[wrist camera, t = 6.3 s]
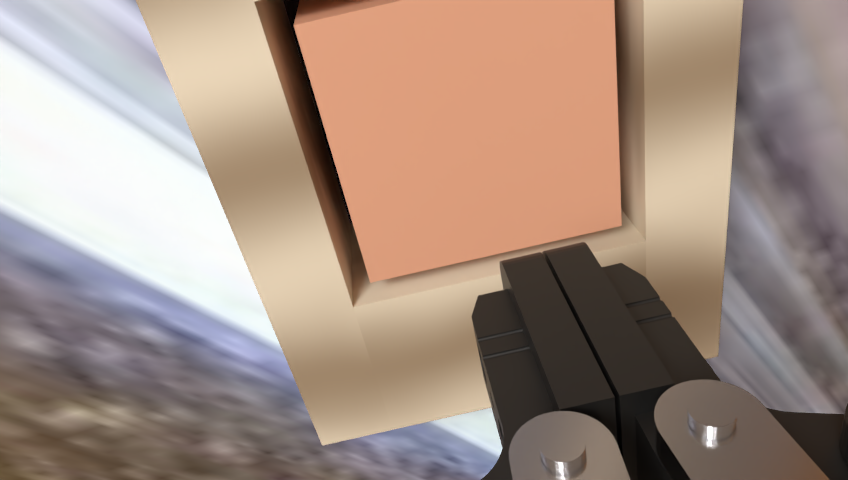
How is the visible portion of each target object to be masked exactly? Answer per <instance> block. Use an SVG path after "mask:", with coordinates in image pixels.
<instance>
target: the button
mask: <svg viewBox="0 0 848 480" xmlns="http://www.w3.org/2000/svg"><path fill="white" fill-rule="evenodd" d="M294 28H295V32H296V35H297V38H298V42H299V45H300V48H301V52H302V55H303V58H304V62H305V65H306V69H307V72H308V75H309V79H310V82H311V85H312V89H313V92H314V95H315V99H316V102H317V105H318V109H319V112H320V116H321V119H322V122H323V126H324V129H325V132H326V136H327V139H328V142H329V146H330V149H331V152H332V156H333V159H334V163H335V166H336V169H337V173H338V176H339V179H340V183H341V186H342V189H343V193H344V196H345V199H346V203H347V206H348V210H349V213H350V216H351V220H352V223H353V226H354V230H355V233H356V236H357V240H358V243H359V246H360V250H361V253H362V257H363V260H364V263H365V267H366V270H367V273H368V277H369V280H370V283H372V282H376V281H381V280H385V279H390V278H394V277H398V276H403V275H407V274H412V273H416V272H420V271H425V270H429V269H434V268H438V267H443V266H447V265H451V264H456V263H460V262H465V261H469V260H473V259H478V258H482V257H487V256H491V255H495V254H500V253H504V252H509V251H513V250H517V249H522V248H526V247H531V246H535V245H539V244H544V243H548V242H553V241H557V240H562V239H566V238H570V237H575V236H579V235H584V234H588V233H592V232H597V231H601V230H606V229H610V228H614V227H619V226H622V218H621V188H620V158H619V128H618V98H617V68H616V38H615V8H614V0H300V1H299V5H298V9H297V13H296V17H295V22H294Z"/></svg>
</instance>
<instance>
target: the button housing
mask: <svg viewBox="0 0 848 480" xmlns="http://www.w3.org/2000/svg"><path fill="white" fill-rule="evenodd" d="M136 2H137V4H138V7H139V9H140V12H141V14H142V16H143V19H144V21H145V23H146V26H147V28H148V31H149V33H150V35H151V38H152V40H153V43H154V45H155V47H156V50H157V52H158V54H159V57H160V59H161V62H162V64H163V66H164V69H165V71H166V74H167V76H168V78H169V81H170V83H171V85H172V88H173V90H174V93H175V95H176V97H177V100H178V102H179V105H180V107H181V109H182V112H183V114H184V116H185V119H186V121H187V124H188V126H189V128H190V131H191V133H192V136H193V138H194V140H195V143H196V145H197V147H198V150H199V152H200V155H201V157H202V159H203V162H204V164H205V167H206V169H207V171H208V174H209V176H210V178H211V181H212V183H213V186H214V188H215V190H216V193H217V195H218V198H219V200H220V202H221V205H222V207H223V210H224V212H225V214H226V217H227V219H228V221H229V224H230V226H231V229H232V231H233V233H234V236H235V238H236V241H237V243H238V245H239V248H240V250H241V252H242V255H243V257H244V260H245V262H246V264H247V267H248V269H249V272H250V274H251V276H252V279H253V281H254V283H255V286H256V288H257V291H258V293H259V295H260V298H261V300H262V303H263V305H264V307H265V310H266V312H267V314H268V317H269V319H270V322H271V324H272V326H273V329H274V331H275V334H276V336H277V338H278V341H279V343H280V345H281V348H282V350H283V353H284V355H285V357H286V360H287V362H288V365H289V367H290V369H291V372H292V374H293V376H294V379H295V381H296V384H297V386H298V388H299V391H300V393H301V396H302V398H303V400H304V403H305V405H306V408H307V410H308V412H309V415H310V417H311V419H312V422H313V424H314V427H315V429H316V431H317V434H318V436H319V439H320V441H321V443H322V445H327V444H331V443H336V442H340V441H344V440H349V439H353V438H358V437H362V436H367V435H371V434H375V433H380V432H384V431H389V430H393V429H398V428H402V427H407V426H411V425H415V424H420V423H424V422H429V421H433V420H438V419H442V418H447V417H451V416H455V415H460V414H464V413H469V412H473V411H478V410H482V409H486V408H491V403H490V400H489V396H488V392H487V388H486V385H485V381H484V377H483V372H482V367H481V362H480V357H479V352H478V347H477V342H476V337H475V332H474V327H473V322H472V317H471V316H472V313H473V310H474V307H475V303H476V300H477V297H478V295H483V294H487V293H492V292H496V291H500V290H503V285H502V279H501V272H500V261H503V260H507V259H511V258H516V257H520V256H525V255H529V254H533V253H538V252H541V253H542V252H543V251H546V250H550V249H555V248H559V247H563V246H568V245H572V244H576V243H581V242H585V243H586V244H587V245H588V247H589V248H590V250H591V251H592V253H593V255H594V256H595V258H596V259H597V261H598V263H599V264H600V266H601V267H605V266H609V265H614V264H618V263H623V264H624V265H626V266H628V267H630V268H631V269H633V270H635V271H636V272H638V273H640V274H641V275H643V276H645V277H646V278H647V280H648V281H649V283H650V284H651V285H652V287H653V288H654V289H655V291H656V292H657V294H658V295H659V296H660V300H661V301H663V302H664V303H665V305H666V306H667V307H668V309H669V310H670V312H671V314H672V317H675V319H676V320H677V321H678V323H679V324H680V325H681V327H682V328H683V330H684V331H685V332H686V334H687V335H688V337H689V338H690V339H691V341H692V342H693V343H694V345H695V346H696V348H697V349H698V350H699V352H700V353H701V355H702V356H703V357H704V359H708V358H713V357H717V356H718V349H719V335H720V321H721V307H722V293H723V279H724V264H725V250H726V236H727V222H728V208H729V194H730V180H731V165H732V151H733V137H734V123H735V109H736V95H737V81H738V67H739V52H740V38H741V24H742V10H743V0H614V8H615V38H616V68H617V98H618V128H619V158H620V188H621V218H622V226H619V227H614V228H610V229H606V230H601V231H597V232H592V233H588V234H584V235H579V236H575V237H570V238H566V239H562V240H557V241H553V242H548V243H544V244H539V245H535V246H531V247H526V248H522V249H517V250H513V251H509V252H504V253H500V254H495V255H491V256H487V257H482V258H478V259H473V260H469V261H465V262H460V263H456V264H451V265H447V266H443V267H438V268H434V269H429V270H425V271H420V272H416V273H412V274H407V275H403V276H398V277H394V278H390V279H385V280H381V281H376V282H372V283H370V280H369V277H368V273H367V270H366V267H365V263H364V260H363V257H362V253H361V250H360V246H359V243H358V240H357V236H356V233H355V230H354V226H353V224H350V221H349V218H348V214H347V211H346V208H345V204H344V201H343V198H342V194H341V191H340V188H339V184H338V181H337V178H336V174H335V171H334V168H333V164H332V161H331V158H330V154H329V151H328V148H327V144H326V141H325V138H324V134H323V131H322V128H321V124H320V121H319V118H318V114H317V111H316V108H315V104H314V101H313V98H312V94H311V91H310V88H309V84H308V81H307V78H306V74H305V71H304V68H303V64H302V61H301V58H300V54H299V51H298V48H297V44H296V41H295V38H294V34H293V31H292V28H291V24H290V21H289V18H288V15H287V11H286V8H285V5H284V1H283V0H136Z"/></svg>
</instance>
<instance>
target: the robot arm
mask: <svg viewBox="0 0 848 480" xmlns="http://www.w3.org/2000/svg"><path fill="white" fill-rule="evenodd" d="M500 272H501V279H502V285H503V290H500V291H496V292H492V293H487V294H483V295H478V297H477V300H476V303H475V307H474V310H473V313H472V316H471V317H472V322H473V327H474V332H475V337H476V342H477V347H478V352H479V357H480V362H481V367H482V372H483V377H484V381H485V385H486V388H487V392H488V396H489V400H490V403H491V407H492V411H493V414H494V418H495V422H496V425H497V429H498V433H499V436H500V440H501V444H502V447H503V449H502V452H501V455H500V457H499V459H498V461H497V463H496V464H495V466H494V467H493V468H492V470H491V471H490V472H489V473H488V474H487V475H486V476H485V477H484V478H482V479H481V480H848V404H847V407H846V410H845V414H821V413H795V412H784V411H778V410H772V409H769V408H765V406H764V405H763V404H762V403H761V402H760V401H759V400H758V399H757V398H756V397H754V396H753V395H751V394H750V393H749V392H747V391H745V390H743V389H741V388H740V387H737V386H734V385H732V384H729V383H725V382H722V381H721V380H720V379H719V378H718V377H717V375H716V374H715V373H714V371H713V370H712V368H711V367H710V366H709V364H708V363H707V361H706V360H705V359H704V357H703V356H702V355H701V353H700V352H699V350H698V349H697V348H696V346H695V345H694V343H693V342H692V341H691V339H690V338H689V337H688V335H687V334H686V332H685V331H684V330H683V328H682V327H681V325H680V324H679V323H678V321H677V320H676V319H675V317H672V314H671V312H670V310H669V309H668V307H667V306H666V305H665V303H664V302H663V301H661V300H660V296H659V295H658V294H657V292H656V291H655V289H654V288H653V287H652V285H651V284H650V283H649V281H648V280H647V278H646V277H645V276H643V275H641V274H640V273H638V272H636V271H635V270H633V269H631V268H630V267H628V266H626V265H624V264H623V263H618V264H614V265H609V266H605V267H601V266H600V264H599V263H598V261H597V259H596V258H595V256H594V255H593V253H592V251H591V250H590V248H589V247H588V245H587V244H586V243H585V242H581V243H576V244H572V245H568V246H563V247H559V248H555V249H550V250H546V251H543V252H542V253H541V252H538V253H533V254H529V255H525V256H520V257H516V258H511V259H507V260H503V261H500Z"/></svg>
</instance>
